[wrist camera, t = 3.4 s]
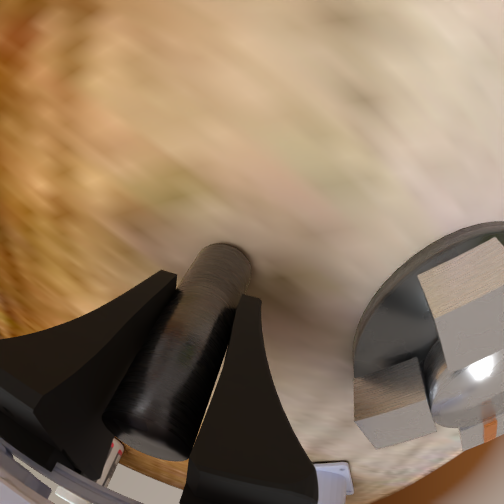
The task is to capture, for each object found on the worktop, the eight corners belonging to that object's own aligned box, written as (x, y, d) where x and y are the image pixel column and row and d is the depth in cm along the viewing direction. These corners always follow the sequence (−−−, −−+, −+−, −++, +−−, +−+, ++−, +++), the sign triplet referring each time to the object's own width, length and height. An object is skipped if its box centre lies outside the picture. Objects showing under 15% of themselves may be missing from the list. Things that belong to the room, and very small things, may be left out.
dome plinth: (531, 377, 14) (535, 387, 13) (361, 421, 18) (362, 433, 17) (577, 202, 9) (588, 210, 8) (332, 253, 13) (333, 267, 12)
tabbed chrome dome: (569, 193, 8) (607, 221, 5) (558, 367, 12) (572, 397, 9) (313, 318, 13) (310, 369, 10) (392, 440, 17) (394, 475, 15)
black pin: (258, 288, 14) (206, 465, 7) (208, 295, 14) (135, 453, 7) (240, 238, 13) (158, 417, 6) (187, 250, 13) (84, 406, 6)
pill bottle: (75, 421, 29) (40, 484, 20) (102, 425, 27) (65, 498, 19) (105, 446, 31) (76, 507, 22) (134, 451, 29) (104, 520, 21)
